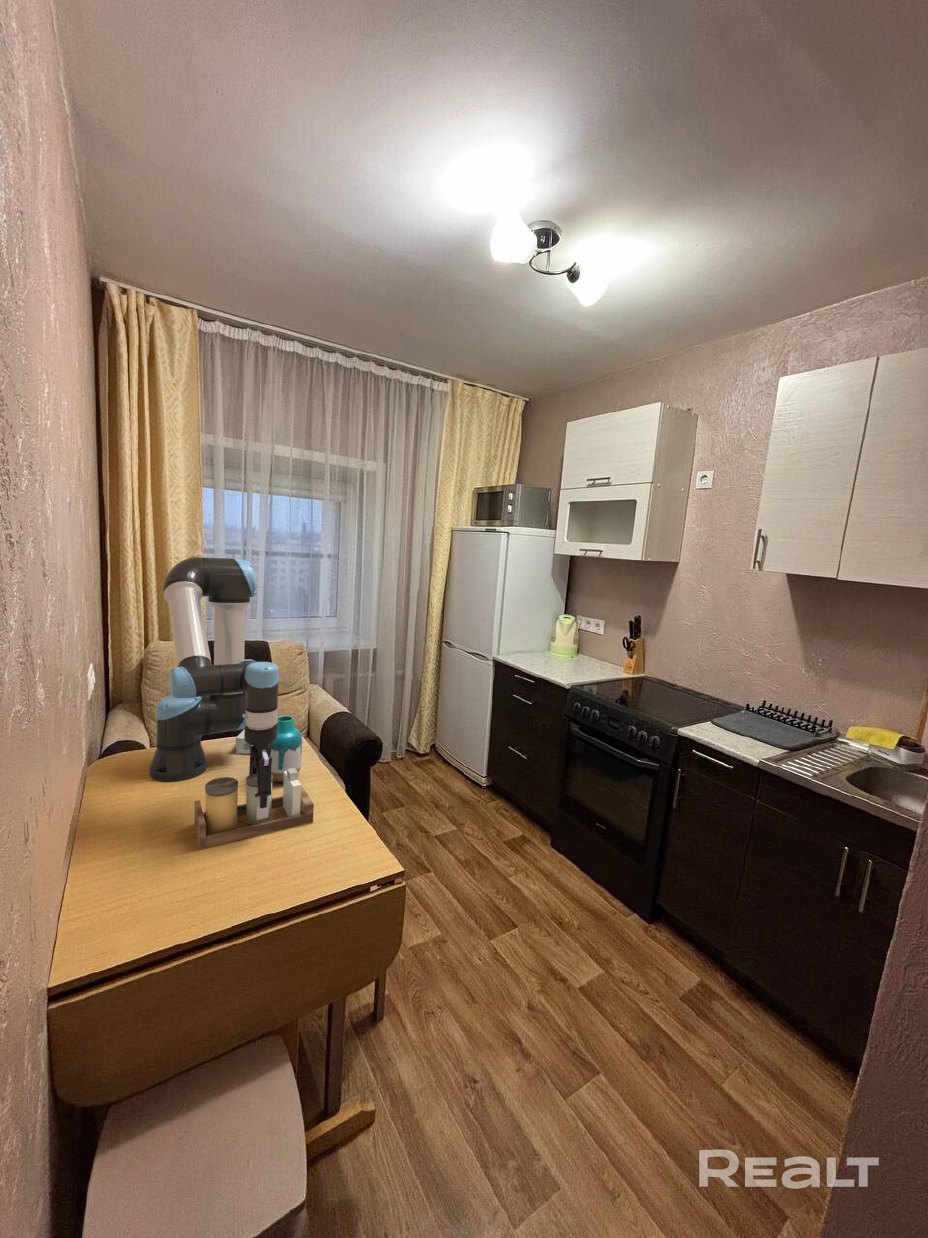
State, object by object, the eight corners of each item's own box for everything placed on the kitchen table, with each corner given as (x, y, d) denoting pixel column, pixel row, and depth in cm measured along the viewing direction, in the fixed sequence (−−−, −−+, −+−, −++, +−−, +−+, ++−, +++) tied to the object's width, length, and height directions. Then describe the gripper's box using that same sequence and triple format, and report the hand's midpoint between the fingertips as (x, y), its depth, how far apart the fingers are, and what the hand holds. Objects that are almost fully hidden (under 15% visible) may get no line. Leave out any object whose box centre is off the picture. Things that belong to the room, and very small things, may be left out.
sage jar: (243, 815, 126) (244, 774, 124) (268, 809, 129) (269, 770, 128) (247, 827, 121) (248, 785, 119) (274, 821, 124) (275, 780, 123)
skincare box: (235, 737, 161) (249, 721, 176) (235, 755, 162) (249, 737, 177) (262, 737, 163) (273, 721, 177) (262, 755, 164) (273, 737, 178)
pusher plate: (282, 806, 133) (284, 764, 131) (290, 804, 134) (291, 763, 132) (291, 823, 125) (293, 779, 124) (299, 821, 126) (301, 777, 125)
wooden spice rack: (194, 823, 122) (194, 801, 121) (300, 800, 137) (300, 780, 136) (199, 849, 112) (199, 825, 112) (313, 822, 127) (313, 800, 126)
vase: (306, 773, 153) (309, 714, 151) (291, 789, 143) (293, 726, 140) (274, 769, 154) (276, 710, 152) (257, 784, 144) (258, 722, 141)
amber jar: (203, 827, 121) (203, 780, 120) (234, 820, 125) (235, 775, 124) (206, 842, 115) (207, 794, 114) (239, 834, 119) (240, 787, 118)
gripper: (237, 714, 127) (236, 797, 131) (252, 741, 112) (250, 834, 115) (268, 711, 132) (266, 791, 135) (286, 736, 116) (283, 826, 119)
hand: (259, 811), depth 125 cm, fingers open, 6 cm apart
